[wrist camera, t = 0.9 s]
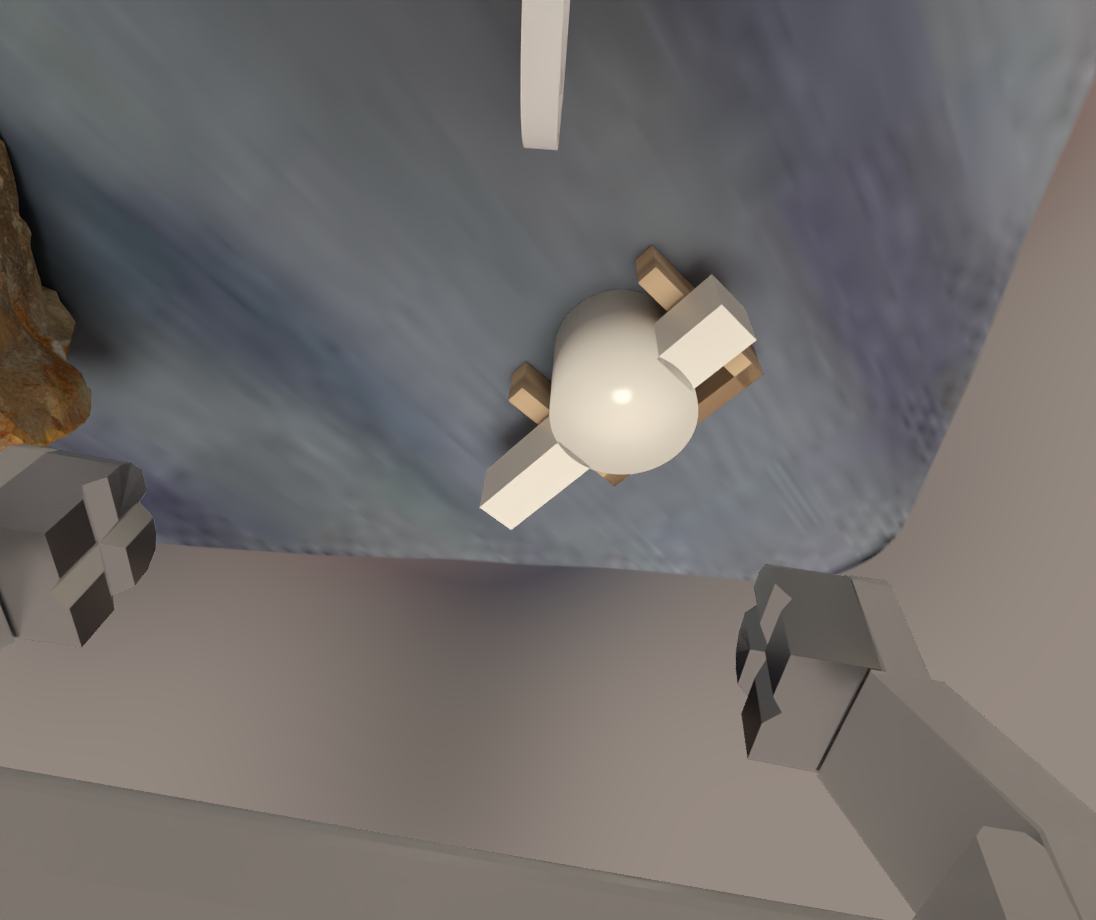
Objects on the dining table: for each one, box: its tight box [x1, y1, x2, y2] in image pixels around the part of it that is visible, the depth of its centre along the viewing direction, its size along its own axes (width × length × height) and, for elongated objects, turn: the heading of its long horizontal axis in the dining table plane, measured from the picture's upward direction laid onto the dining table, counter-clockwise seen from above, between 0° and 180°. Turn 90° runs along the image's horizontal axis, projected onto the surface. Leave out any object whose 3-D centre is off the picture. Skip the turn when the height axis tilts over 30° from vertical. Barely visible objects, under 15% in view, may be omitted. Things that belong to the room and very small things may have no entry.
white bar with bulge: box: [480, 274, 756, 530], centre depth 42 cm, size 8×17×7 cm, turn 137°
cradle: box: [508, 245, 763, 486], centre depth 43 cm, size 9×11×3 cm
